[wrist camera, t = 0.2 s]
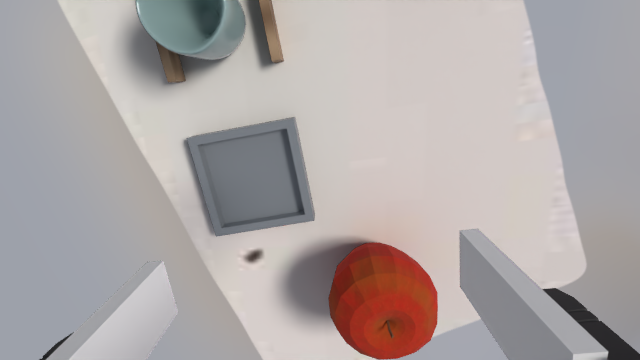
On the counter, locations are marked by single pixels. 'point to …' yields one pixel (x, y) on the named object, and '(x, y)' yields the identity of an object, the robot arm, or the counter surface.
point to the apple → (383, 302)
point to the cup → (194, 26)
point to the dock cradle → (253, 176)
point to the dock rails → (175, 68)
